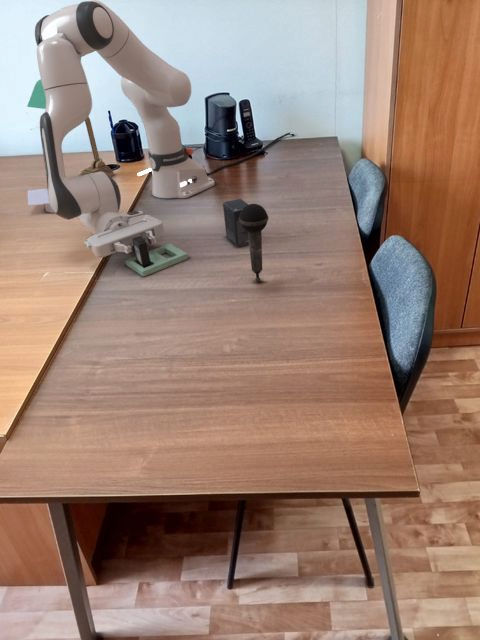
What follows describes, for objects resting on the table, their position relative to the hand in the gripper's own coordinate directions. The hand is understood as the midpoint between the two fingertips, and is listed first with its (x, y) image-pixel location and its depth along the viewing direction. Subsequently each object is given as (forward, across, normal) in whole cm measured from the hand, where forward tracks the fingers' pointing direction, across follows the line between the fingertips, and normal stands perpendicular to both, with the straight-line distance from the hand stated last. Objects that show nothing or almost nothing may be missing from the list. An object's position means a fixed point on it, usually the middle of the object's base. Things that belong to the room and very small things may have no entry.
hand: (141, 245), depth 137 cm
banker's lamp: (-76, +19, +7) cm, 79 cm away
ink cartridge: (-1, 0, +7) cm, 7 cm away
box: (+5, +28, +7) cm, 29 cm away
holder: (-1, +4, +6) cm, 8 cm away
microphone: (+27, +16, +7) cm, 32 cm away
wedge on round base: (-61, 0, +7) cm, 61 cm away
